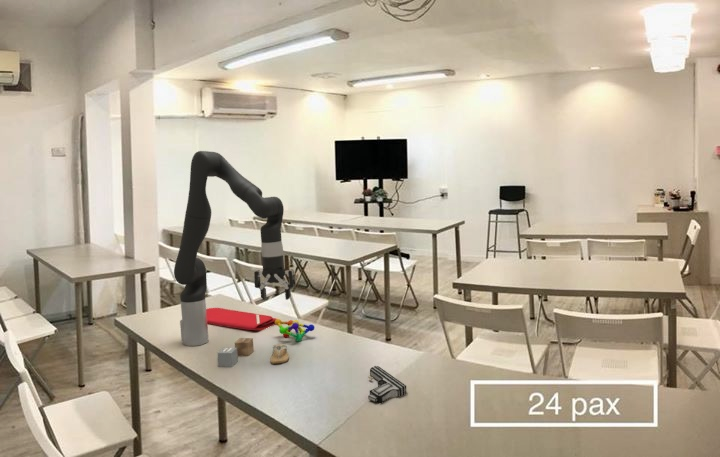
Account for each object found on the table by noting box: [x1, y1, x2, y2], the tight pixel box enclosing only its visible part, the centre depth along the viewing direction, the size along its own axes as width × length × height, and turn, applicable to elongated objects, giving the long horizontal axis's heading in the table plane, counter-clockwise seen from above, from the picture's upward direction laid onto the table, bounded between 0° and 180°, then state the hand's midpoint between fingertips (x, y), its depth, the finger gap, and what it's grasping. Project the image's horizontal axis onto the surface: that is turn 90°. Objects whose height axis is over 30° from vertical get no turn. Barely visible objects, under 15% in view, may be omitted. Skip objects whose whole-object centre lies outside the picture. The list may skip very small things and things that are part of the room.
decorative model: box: [275, 318, 315, 342], centre depth 202 cm, size 13×9×15 cm
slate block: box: [217, 347, 239, 368], centre depth 179 cm, size 5×5×5 cm
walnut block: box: [234, 337, 255, 357], centre depth 188 cm, size 5×5×5 cm
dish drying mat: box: [206, 307, 277, 332], centre depth 228 cm, size 16×41×4 cm, turn 58°
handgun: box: [367, 365, 407, 404], centre depth 156 cm, size 3×19×12 cm
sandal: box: [269, 343, 290, 365], centre depth 184 cm, size 7×16×5 cm, turn 13°
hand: (276, 299), depth 182 cm, fingers open, 8 cm apart
